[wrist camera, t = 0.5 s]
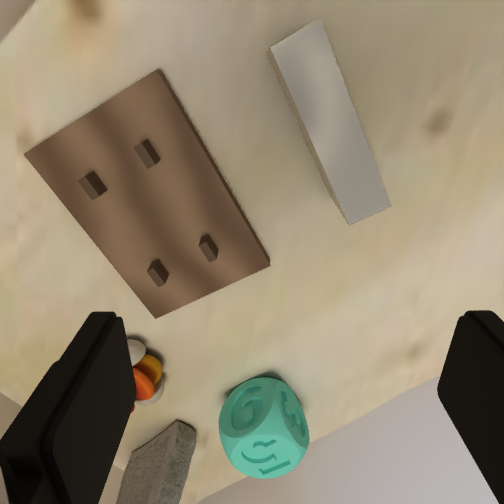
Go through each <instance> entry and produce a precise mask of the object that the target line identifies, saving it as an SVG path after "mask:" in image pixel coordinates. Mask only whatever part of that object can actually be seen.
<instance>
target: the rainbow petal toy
mask: <svg viewBox="0 0 504 504" xmlns="http://www.w3.org/2000/svg"><path fill="white" fill-rule="evenodd" d="M127 343H128V348H129V353H130V358H131V363H132V367H133V372H134V377H135V382H136V388H137V392H136V399H135V402H136V403H138V404H140V405H150V404H153V403H155V402H156V401H157V400H158V399H159V398H160V397H161V395H162V394H163V391H164V380H163V378H162V377H161V375H162V364H161V363H160V361H159V360H158V359H156V358H155V357H153V356H150V355H146V354H145V352H146V348H145V346H144V345H143V344H142V343H141V342H139V341H137V340H133V339H129V340H127ZM134 408H135V405H133V408H132V411H131V413H132V412H133V411H134Z"/></svg>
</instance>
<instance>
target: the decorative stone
mask: <svg viewBox="0 0 504 504" xmlns="http://www.w3.org/2000/svg"><path fill="white" fill-rule="evenodd" d="M195 446H196V433H195V432H194V430H193V429H192V428H191V427H189V426H188V425H185V424H183V423H181V422H178V421H177V422H174V423H173V424H172V425H171V426H170V427H169V428H168V429H166V430H165V431H164V432H162V433H160V434H159V435H158V436H156V437H155V438H154V439H153V440H152V441H150V442H149V443H147V444H146V445H144V446H143V447H141V448H139V449H137V450H136V451H134V452H133V453H132V454H131V456H130V459H129V461H128V464H127V466H126V469H125V472H124V475H123V478H122V482H121V486H120V491H119V494H118V498H117V502H116V504H179V501H180V499H181V495H182V491H183V488H184V485H185V482H186V479H187V475H188V471H189V466H190V462H191V459H192V455H193V453H194V449H195Z"/></svg>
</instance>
